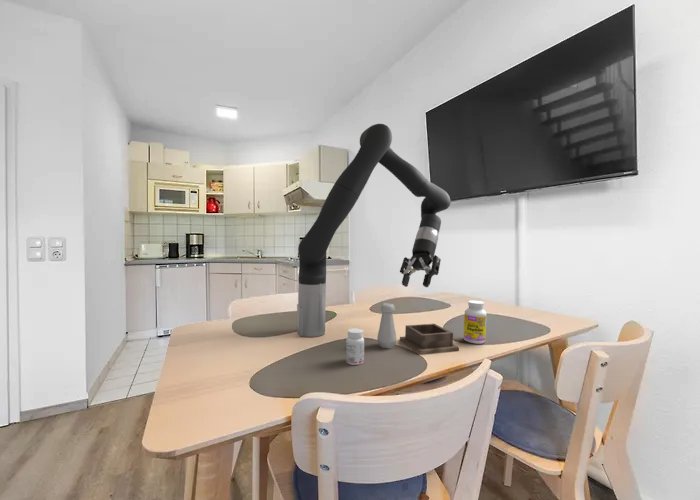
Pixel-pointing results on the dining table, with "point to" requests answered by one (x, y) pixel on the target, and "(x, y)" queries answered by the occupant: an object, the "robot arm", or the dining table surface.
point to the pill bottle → (355, 347)
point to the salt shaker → (387, 327)
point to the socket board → (428, 339)
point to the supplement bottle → (475, 323)
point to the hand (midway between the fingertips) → (414, 286)
